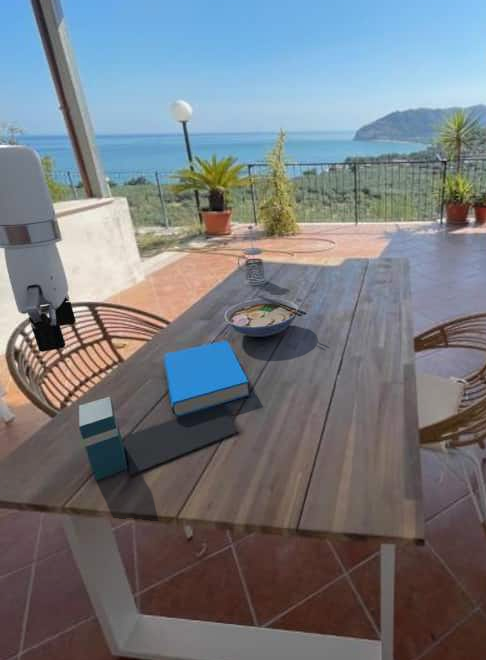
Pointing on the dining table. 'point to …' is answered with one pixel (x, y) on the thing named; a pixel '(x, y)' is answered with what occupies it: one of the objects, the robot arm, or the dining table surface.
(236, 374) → the book
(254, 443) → the dining table surface
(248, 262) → the french press
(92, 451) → the carton
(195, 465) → the dining table surface
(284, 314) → the ramen bowl
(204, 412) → the mat
